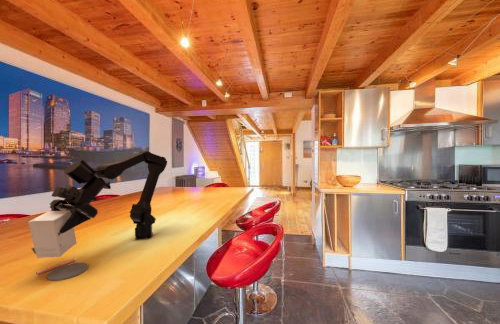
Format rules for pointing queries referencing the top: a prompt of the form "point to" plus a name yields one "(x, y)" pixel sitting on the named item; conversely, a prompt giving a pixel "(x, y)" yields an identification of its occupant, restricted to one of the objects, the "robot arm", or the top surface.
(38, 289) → the top surface
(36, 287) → the top surface
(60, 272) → the disc
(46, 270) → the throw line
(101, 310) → the top surface
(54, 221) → the supplement box
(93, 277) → the top surface
